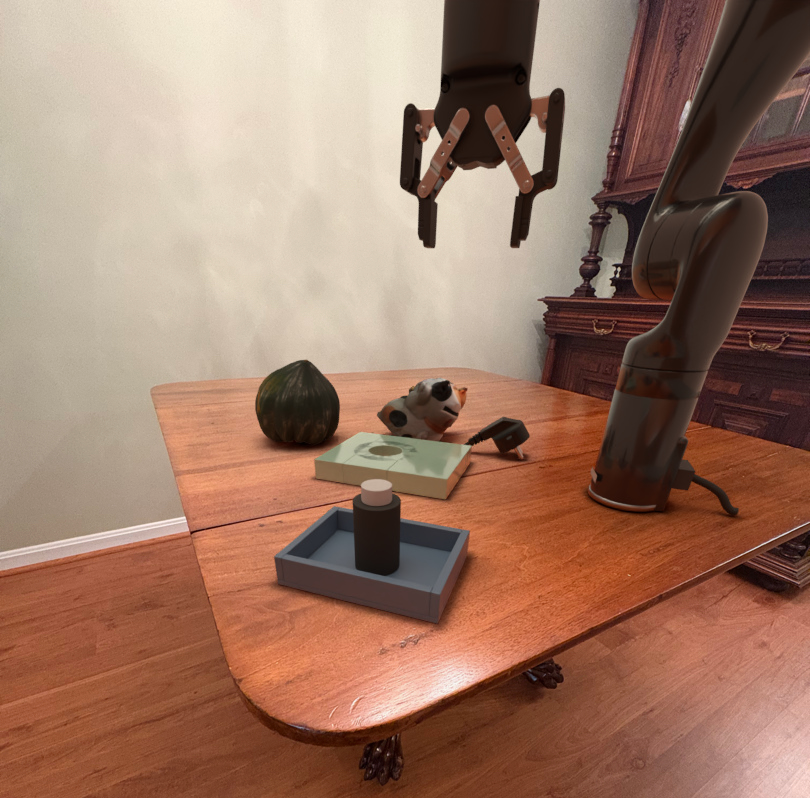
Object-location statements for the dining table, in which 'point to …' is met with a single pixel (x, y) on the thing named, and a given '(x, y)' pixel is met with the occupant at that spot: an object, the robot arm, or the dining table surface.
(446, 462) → the drain board
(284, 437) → the squash
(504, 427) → the power plug
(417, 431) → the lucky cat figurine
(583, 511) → the dining table surface
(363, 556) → the dark brown bottle
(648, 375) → the robot arm
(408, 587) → the blue-grey tray
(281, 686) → the dining table surface
